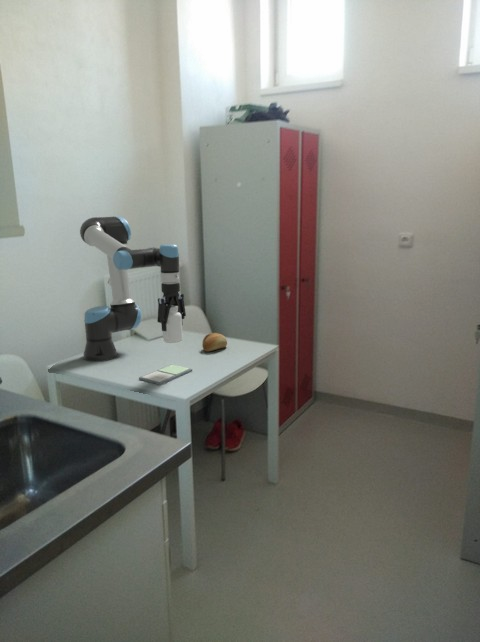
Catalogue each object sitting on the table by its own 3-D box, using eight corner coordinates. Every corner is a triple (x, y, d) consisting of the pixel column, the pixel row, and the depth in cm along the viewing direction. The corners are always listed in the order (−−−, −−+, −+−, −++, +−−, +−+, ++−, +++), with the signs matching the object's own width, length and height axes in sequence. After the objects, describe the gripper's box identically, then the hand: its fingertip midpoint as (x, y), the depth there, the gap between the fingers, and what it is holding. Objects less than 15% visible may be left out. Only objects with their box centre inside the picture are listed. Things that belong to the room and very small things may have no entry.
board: (138, 379, 208) (138, 376, 208) (171, 366, 225) (171, 363, 224) (160, 384, 202) (160, 382, 202) (192, 371, 218) (192, 368, 218)
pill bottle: (173, 337, 219) (171, 303, 216) (186, 340, 214) (185, 305, 211) (159, 341, 213) (157, 306, 210) (172, 344, 208) (171, 309, 205)
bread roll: (197, 351, 247) (196, 335, 245) (216, 344, 259) (216, 329, 257) (211, 354, 242) (211, 338, 240) (231, 347, 253) (231, 332, 251)
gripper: (160, 286, 198) (162, 342, 203) (193, 279, 215) (195, 331, 220) (146, 285, 202) (149, 340, 207) (179, 278, 219) (181, 329, 224)
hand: (172, 335), depth 213 cm, fingers closed on pill bottle, 8 cm apart
